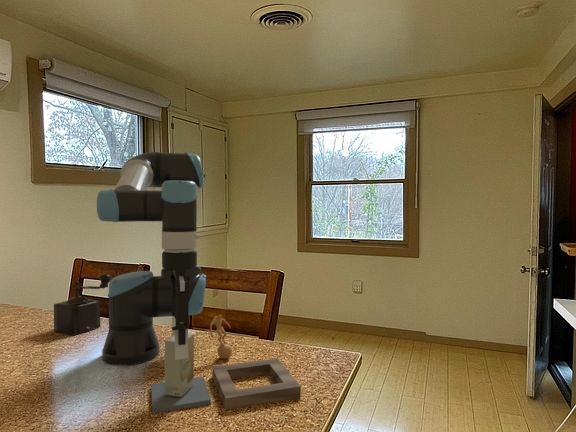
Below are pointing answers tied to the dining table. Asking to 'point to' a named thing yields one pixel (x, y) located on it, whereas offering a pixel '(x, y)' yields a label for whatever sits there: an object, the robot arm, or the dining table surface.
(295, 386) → the stand
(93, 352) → the dining table surface
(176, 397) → the slate pad
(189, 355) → the skincare box
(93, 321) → the dark grey handled box
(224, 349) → the figurine
